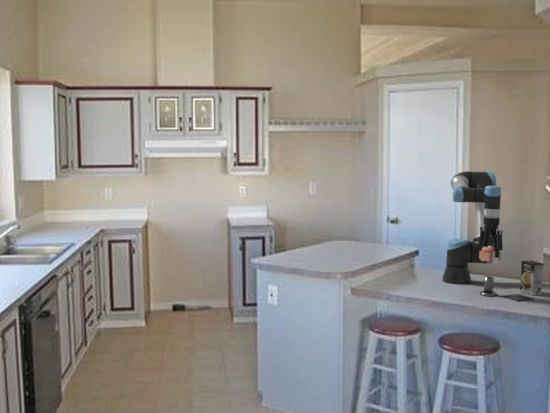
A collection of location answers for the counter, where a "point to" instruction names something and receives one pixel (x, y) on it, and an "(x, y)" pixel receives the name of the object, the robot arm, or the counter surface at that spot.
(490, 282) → the post
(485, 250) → the cap
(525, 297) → the dark grey square plate
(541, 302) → the counter surface
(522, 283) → the coffee box
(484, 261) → the robot arm
